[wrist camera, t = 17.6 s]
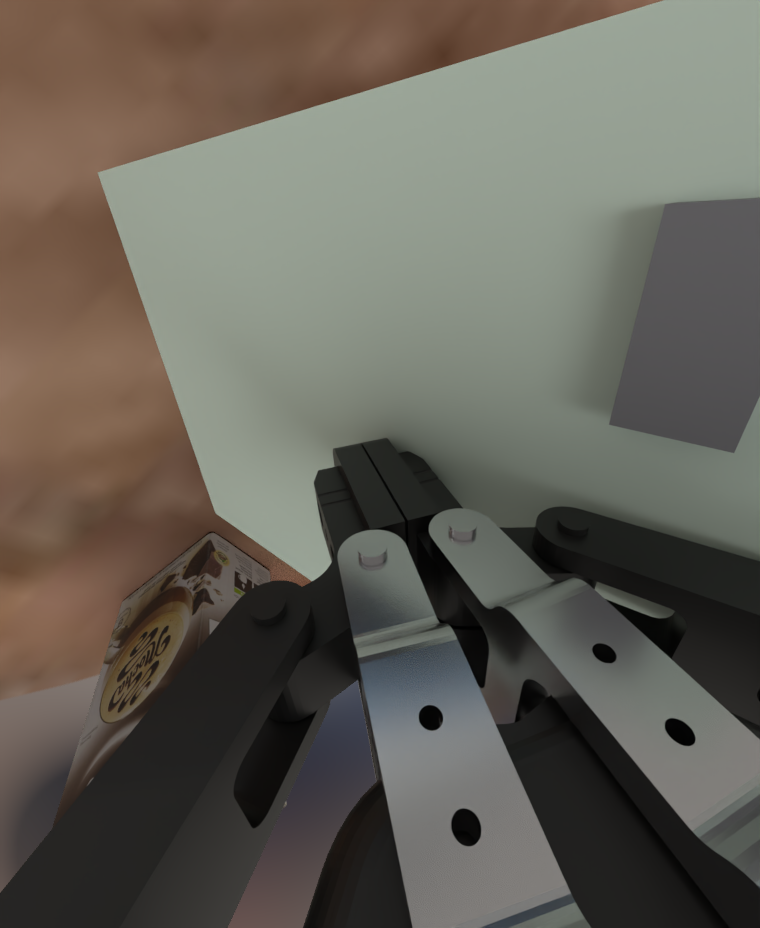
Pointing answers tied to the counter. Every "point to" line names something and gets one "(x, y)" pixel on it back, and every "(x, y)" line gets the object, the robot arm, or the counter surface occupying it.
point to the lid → (480, 285)
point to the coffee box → (157, 646)
